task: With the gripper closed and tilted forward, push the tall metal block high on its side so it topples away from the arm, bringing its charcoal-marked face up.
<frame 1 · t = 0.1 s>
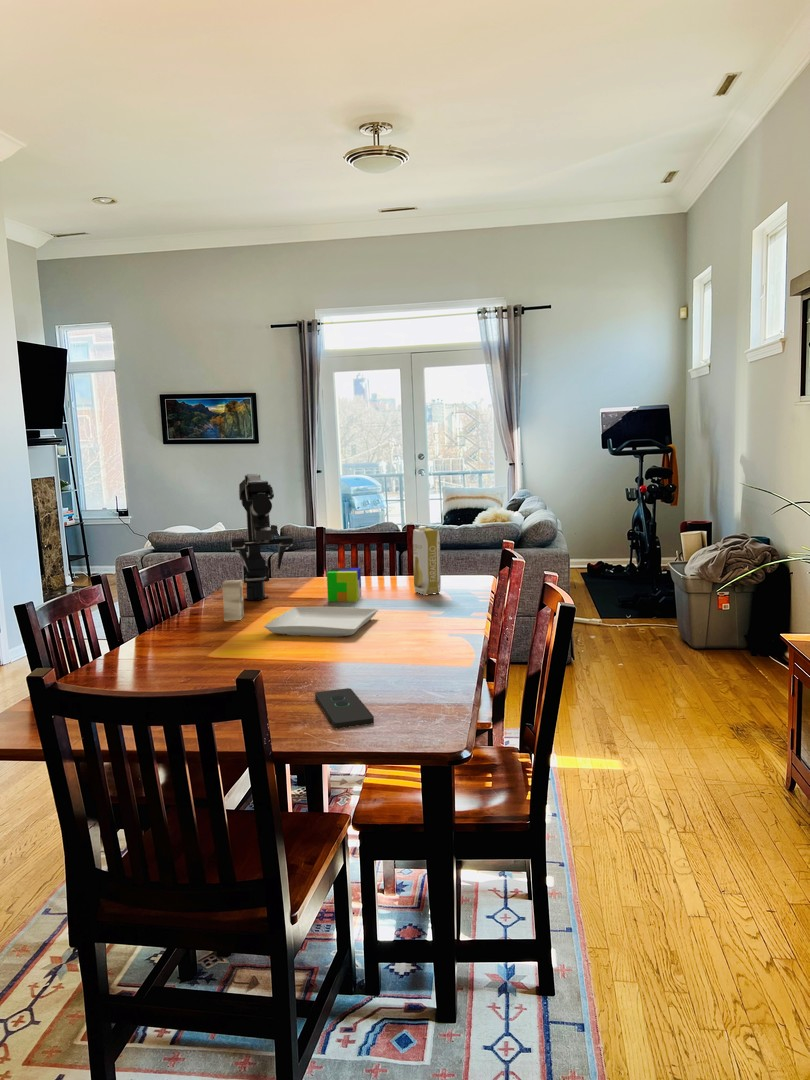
hand: (263, 570, 242), 15 cm above the table, tool pointing down, fingers open, 9 cm apart
smart home device: (343, 712, 161), on the table
metal block: (234, 619, 246), on the table
juice carton: (427, 593, 279), on the table
square plate: (323, 629, 233), on the table
puzzle toy: (344, 599, 274), on the table
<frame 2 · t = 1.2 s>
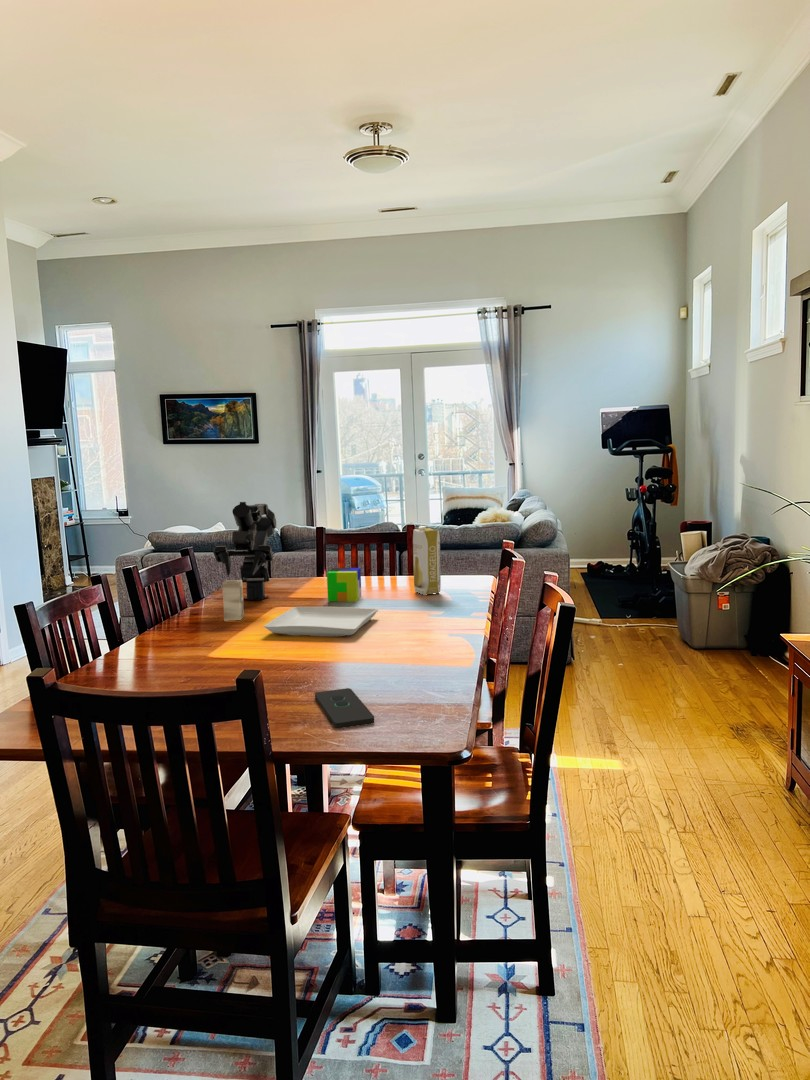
hand: (240, 574, 254), 12 cm above the table, tool tilted 45°, fingers open, 8 cm apart
nothing on the table moved.
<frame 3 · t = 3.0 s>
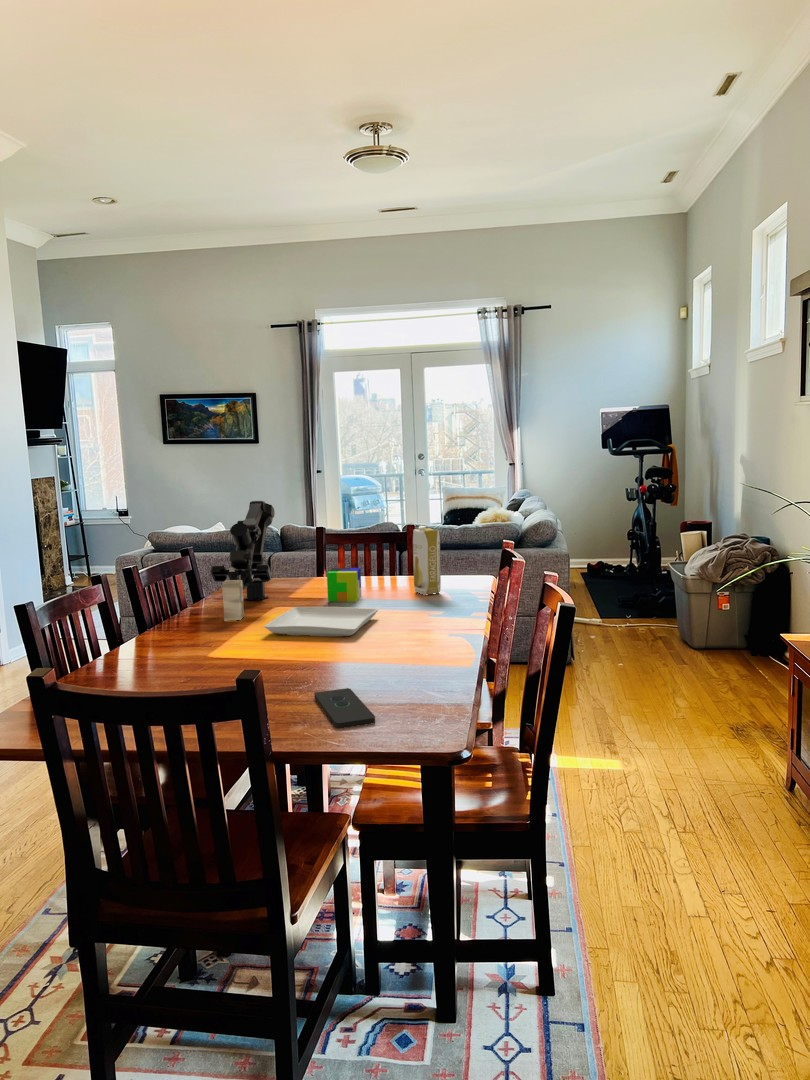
hand: (237, 594, 250), 7 cm above the table, tool tilted 45°, fingers closed
nothing on the table moved.
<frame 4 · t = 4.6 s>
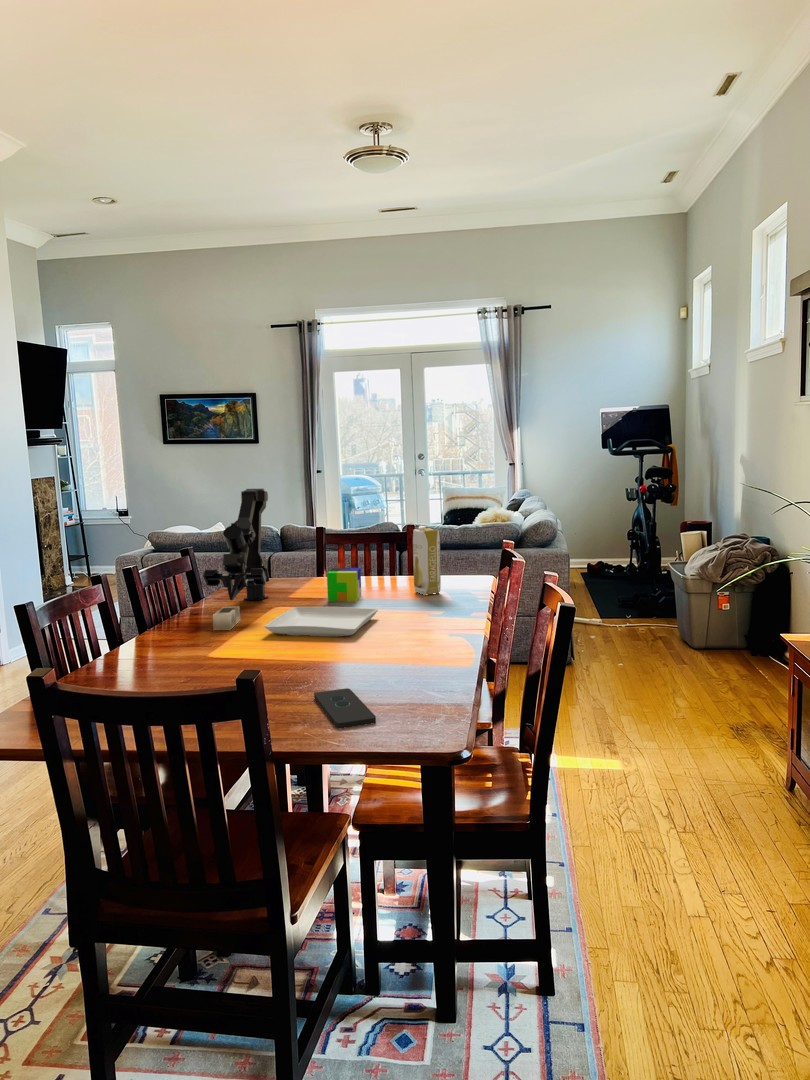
hand: (231, 599, 242), 7 cm above the table, tool tilted 45°, fingers closed
metal block: (231, 614, 243), point 2 cm above the table, tilted 90°
everything else where it was.
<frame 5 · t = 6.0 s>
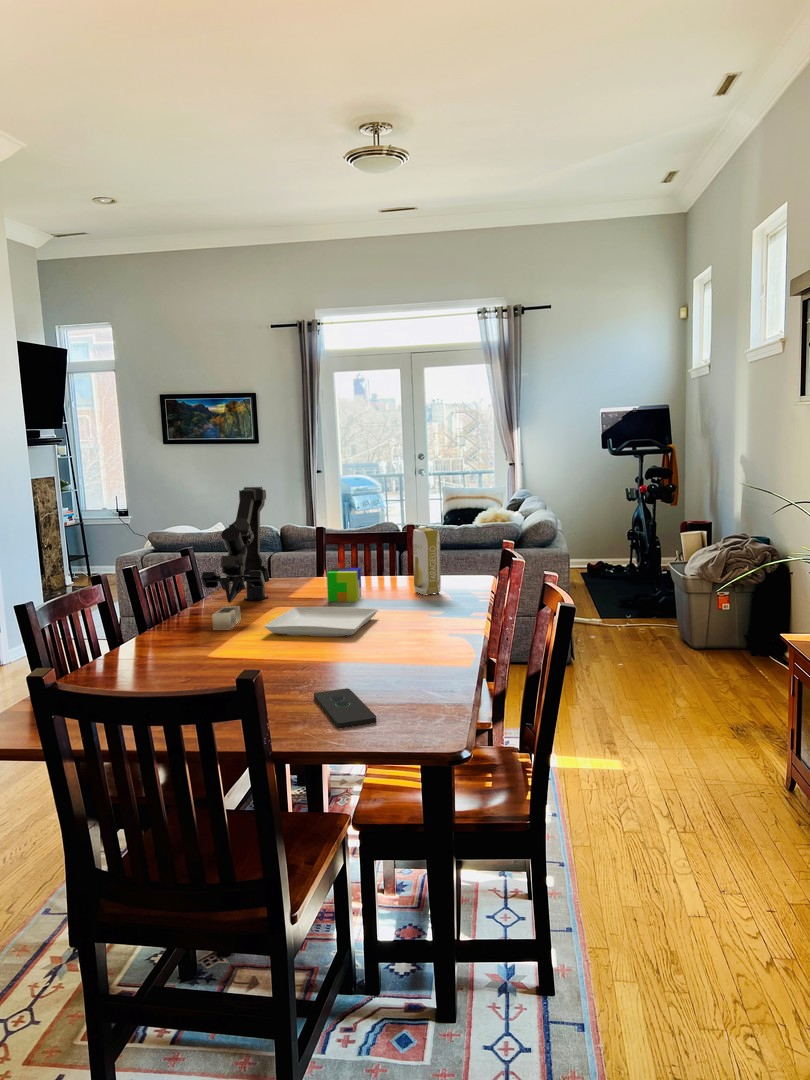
hand: (229, 601, 240), 7 cm above the table, tool tilted 45°, fingers closed
nothing on the table moved.
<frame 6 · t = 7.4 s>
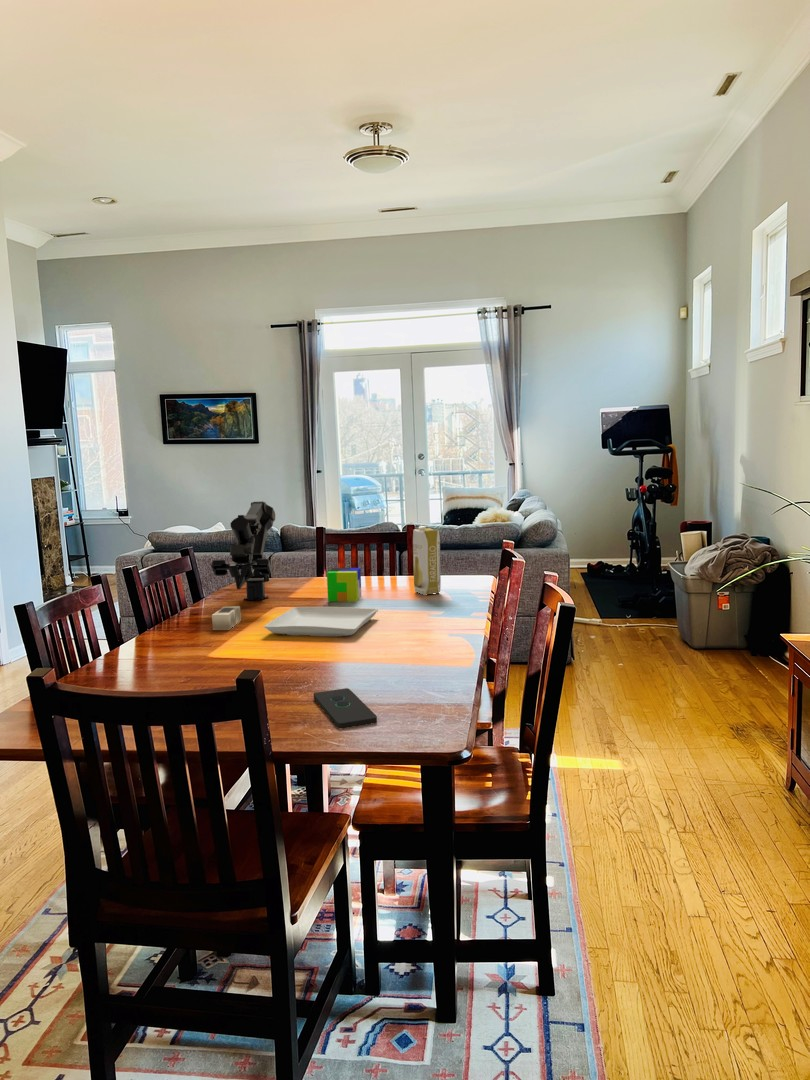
hand: (238, 588, 251), 8 cm above the table, tool tilted 45°, fingers closed
nothing on the table moved.
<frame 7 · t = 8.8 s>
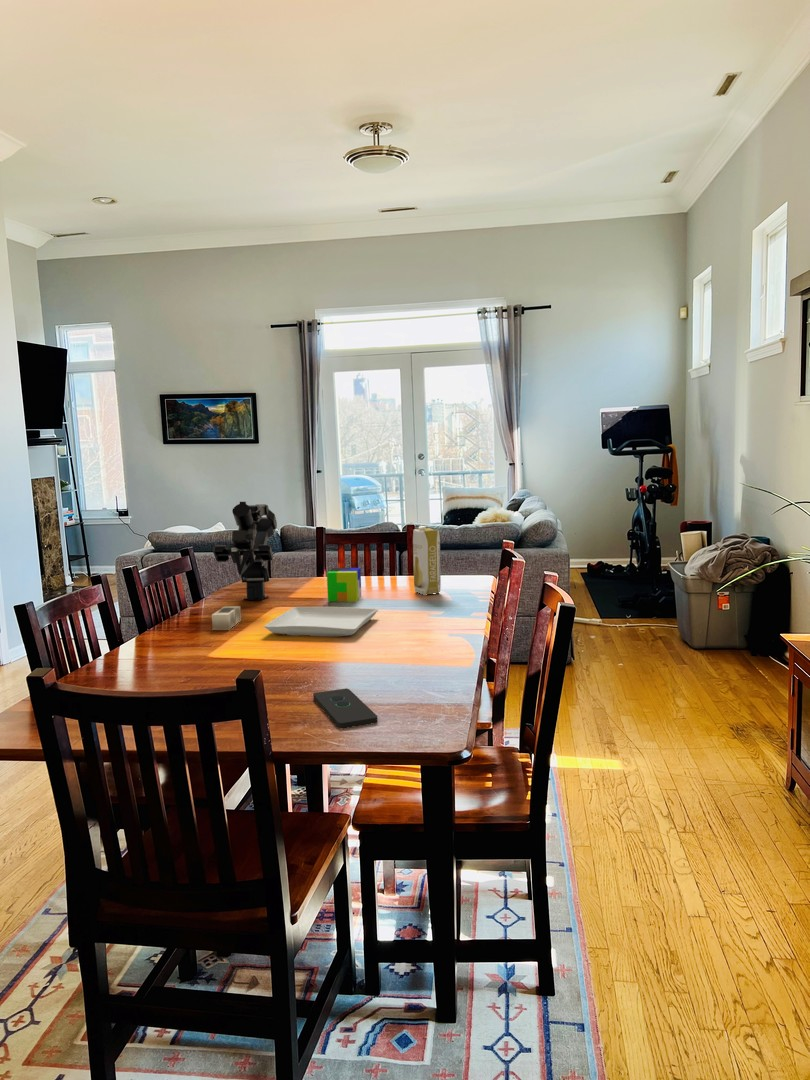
hand: (239, 574, 254), 13 cm above the table, tool tilted 45°, fingers closed
nothing on the table moved.
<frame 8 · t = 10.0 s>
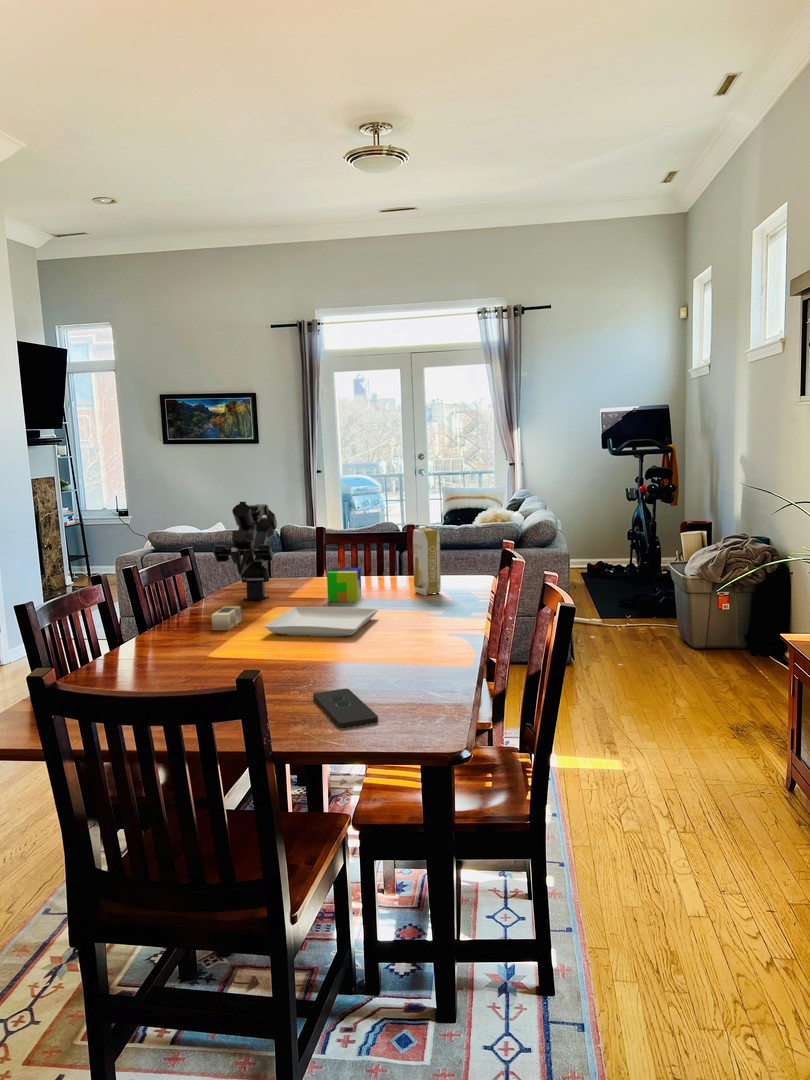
hand: (239, 574, 254), 13 cm above the table, tool tilted 45°, fingers closed
nothing on the table moved.
at the end: metal block tilted 90°; metal block inside the target area (2.9 cm from its centre), point 2.2 cm above the table; square plate moved 0.6 cm from its start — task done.
